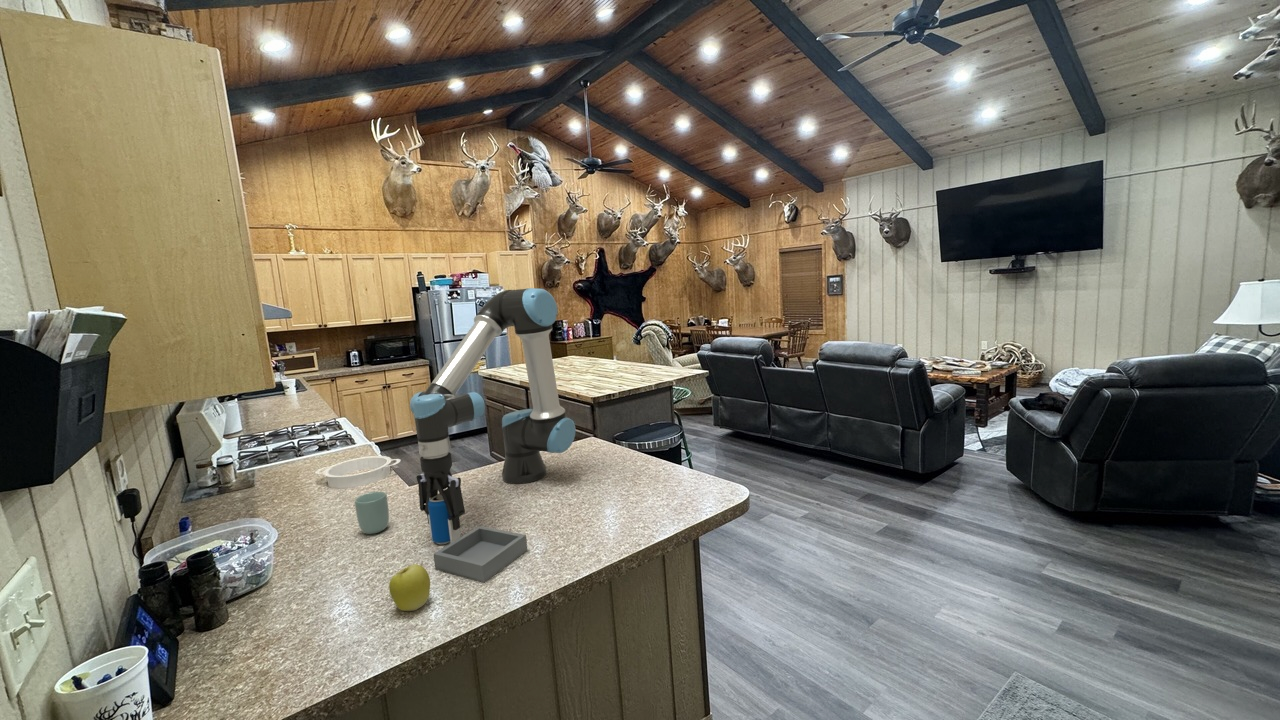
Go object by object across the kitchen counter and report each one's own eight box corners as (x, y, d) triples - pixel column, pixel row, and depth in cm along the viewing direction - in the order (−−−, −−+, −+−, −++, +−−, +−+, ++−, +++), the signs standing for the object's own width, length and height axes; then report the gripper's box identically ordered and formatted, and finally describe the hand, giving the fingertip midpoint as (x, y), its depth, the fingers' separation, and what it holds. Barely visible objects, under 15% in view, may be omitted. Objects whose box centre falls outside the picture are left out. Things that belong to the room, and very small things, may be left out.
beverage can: (433, 537, 140) (427, 494, 138) (458, 532, 142) (453, 490, 140) (432, 548, 133) (426, 503, 132) (459, 542, 136) (453, 498, 134)
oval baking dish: (409, 463, 204) (408, 452, 204) (392, 484, 182) (391, 471, 182) (331, 472, 200) (329, 460, 199) (304, 494, 178) (302, 481, 177)
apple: (444, 594, 110) (425, 558, 107) (410, 623, 105) (389, 587, 102) (427, 582, 116) (408, 548, 112) (394, 609, 110) (373, 574, 107)
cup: (396, 525, 148) (392, 492, 147) (376, 538, 141) (371, 503, 140) (374, 523, 151) (369, 490, 149) (353, 536, 143) (348, 501, 142)
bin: (481, 540, 136) (479, 525, 136) (527, 550, 129) (525, 534, 129) (435, 569, 123) (433, 553, 122) (484, 582, 116) (482, 565, 115)
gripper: (397, 455, 135) (408, 538, 139) (451, 462, 127) (462, 551, 130) (420, 446, 142) (430, 526, 145) (474, 453, 133) (483, 537, 136)
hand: (445, 538), depth 138 cm, fingers closed on beverage can, 6 cm apart
